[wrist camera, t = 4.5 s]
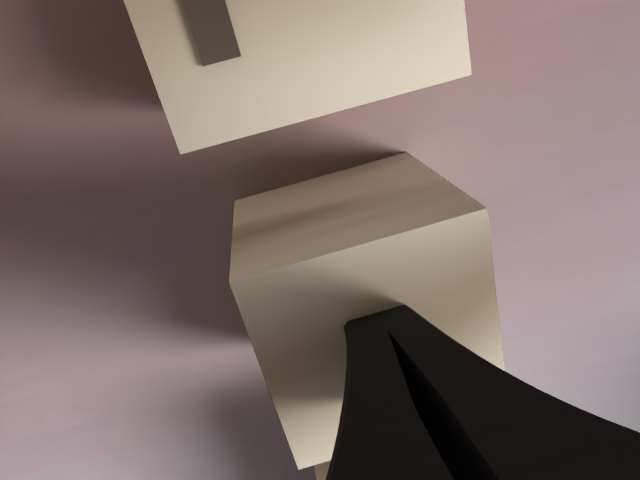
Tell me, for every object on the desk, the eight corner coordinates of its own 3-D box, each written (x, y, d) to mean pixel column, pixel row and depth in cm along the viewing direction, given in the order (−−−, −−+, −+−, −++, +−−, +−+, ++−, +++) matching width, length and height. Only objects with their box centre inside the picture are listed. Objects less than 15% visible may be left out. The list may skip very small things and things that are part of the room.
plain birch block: (431, 299, 16) (508, 406, 11) (282, 342, 15) (298, 470, 11) (406, 151, 14) (487, 208, 9) (234, 199, 13) (229, 282, 9)
